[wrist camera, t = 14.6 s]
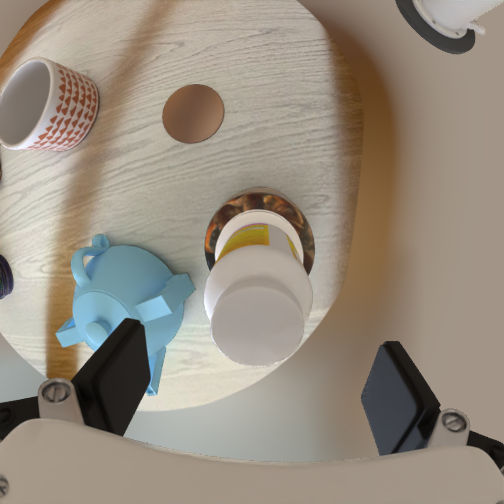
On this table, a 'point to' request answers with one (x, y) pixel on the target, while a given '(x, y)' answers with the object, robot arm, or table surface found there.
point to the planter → (46, 107)
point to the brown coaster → (193, 113)
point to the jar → (259, 211)
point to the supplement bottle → (258, 296)
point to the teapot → (125, 299)
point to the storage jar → (5, 278)
